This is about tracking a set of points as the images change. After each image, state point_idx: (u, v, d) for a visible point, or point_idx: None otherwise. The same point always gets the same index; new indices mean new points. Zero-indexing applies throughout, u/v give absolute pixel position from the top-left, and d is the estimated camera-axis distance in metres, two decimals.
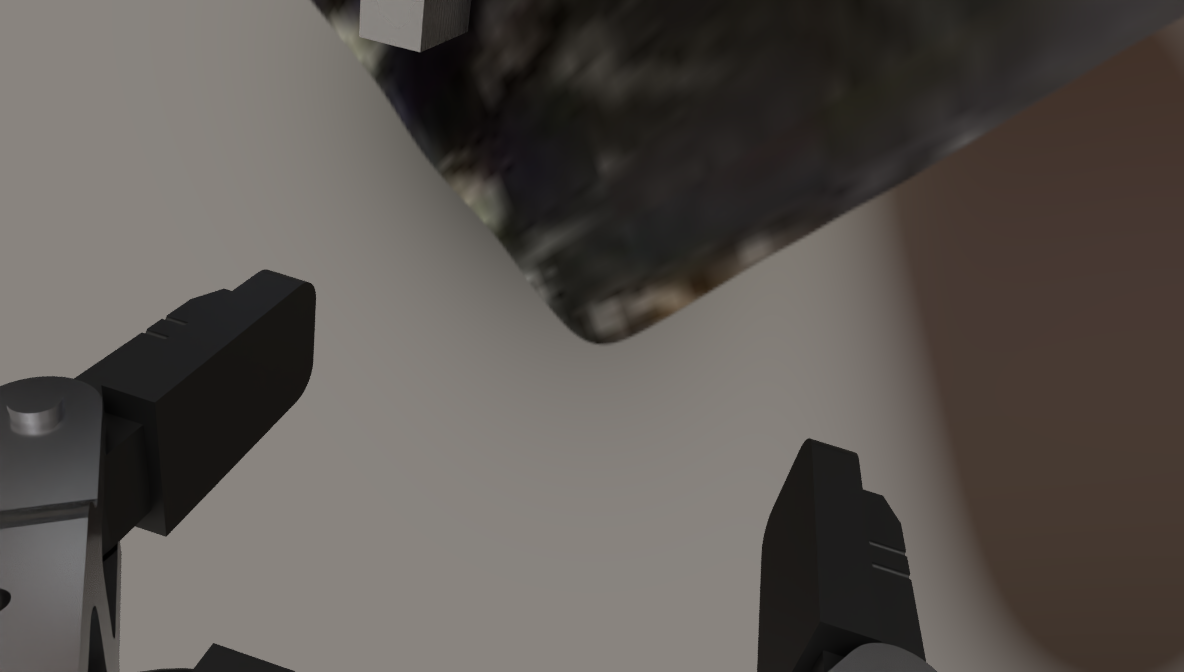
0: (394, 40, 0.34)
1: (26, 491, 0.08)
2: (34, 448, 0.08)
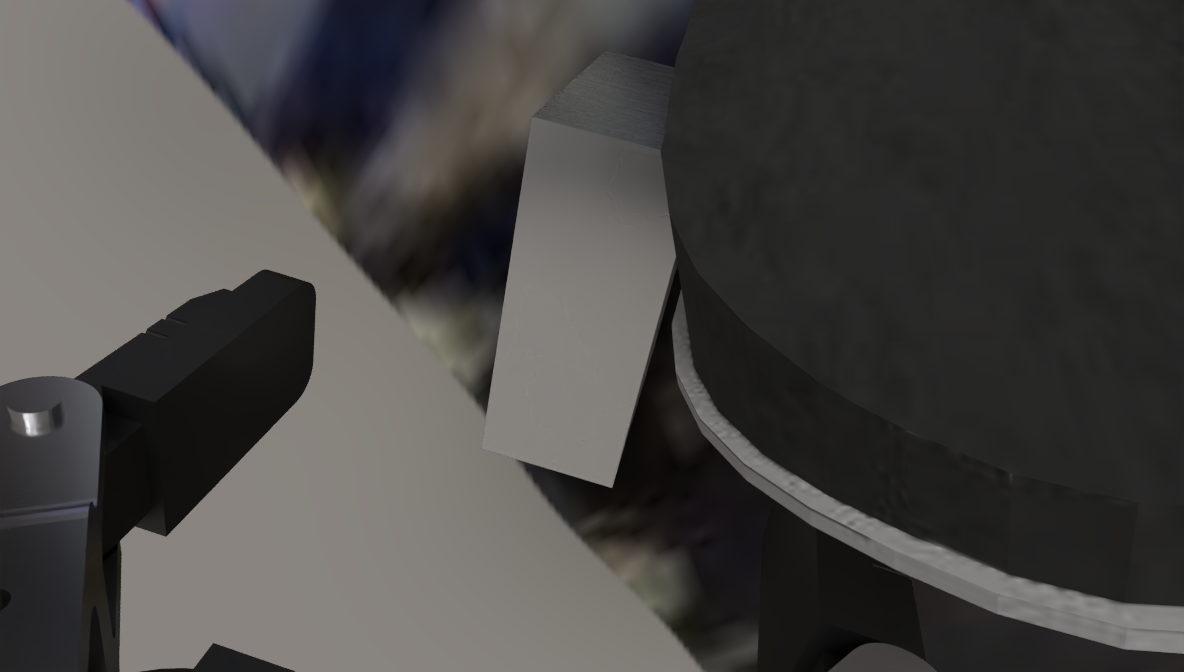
0: (557, 463, 0.16)
1: (26, 491, 0.08)
2: (33, 447, 0.08)
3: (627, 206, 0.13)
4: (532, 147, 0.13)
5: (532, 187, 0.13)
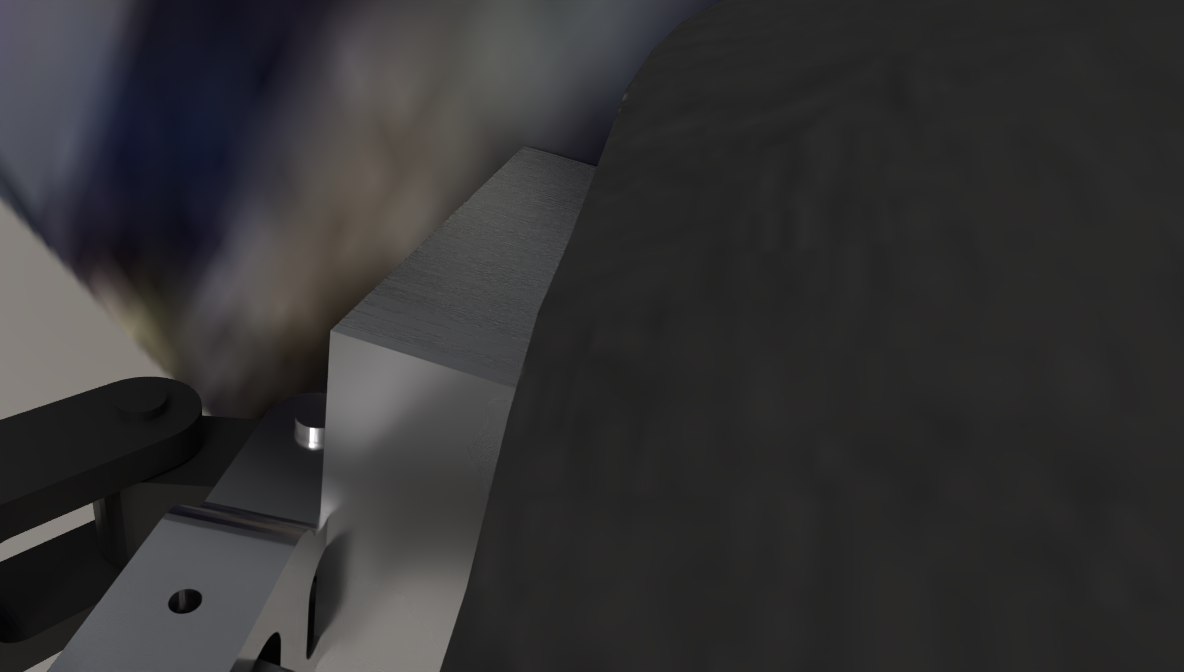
0: None
1: (273, 499, 0.08)
2: (298, 459, 0.09)
3: None
4: (336, 377, 0.07)
5: (342, 438, 0.08)
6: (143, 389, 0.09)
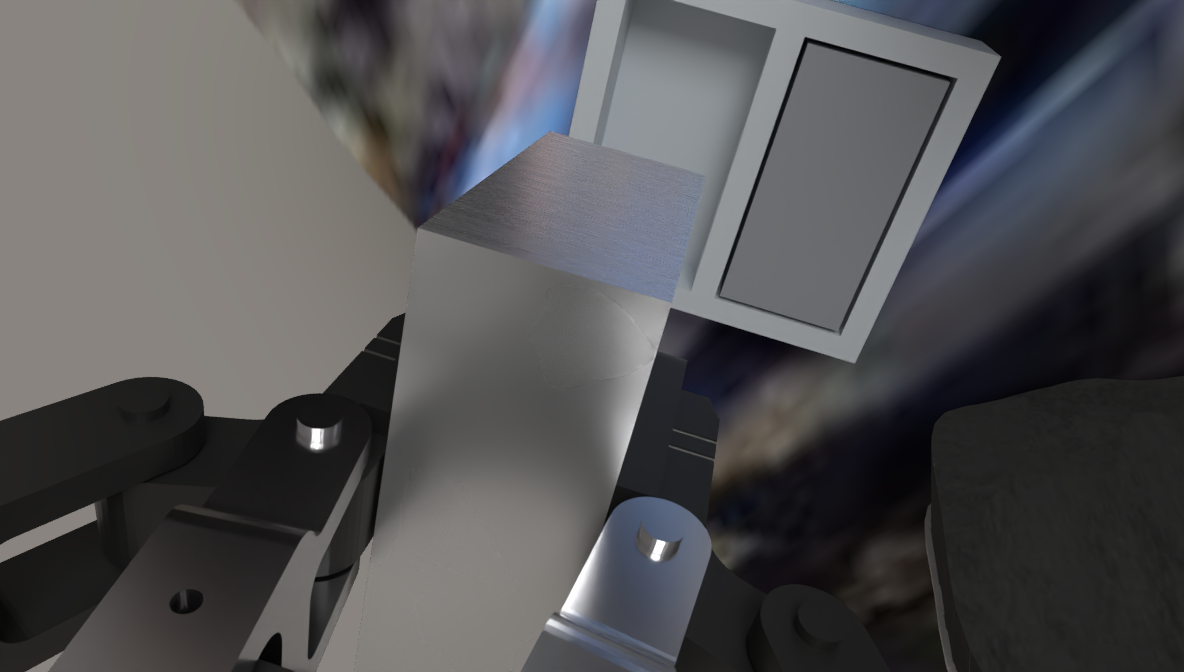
0: None
1: (275, 499, 0.08)
2: (299, 459, 0.09)
3: (561, 362, 0.09)
4: (419, 272, 0.09)
5: (419, 330, 0.09)
6: (144, 389, 0.09)
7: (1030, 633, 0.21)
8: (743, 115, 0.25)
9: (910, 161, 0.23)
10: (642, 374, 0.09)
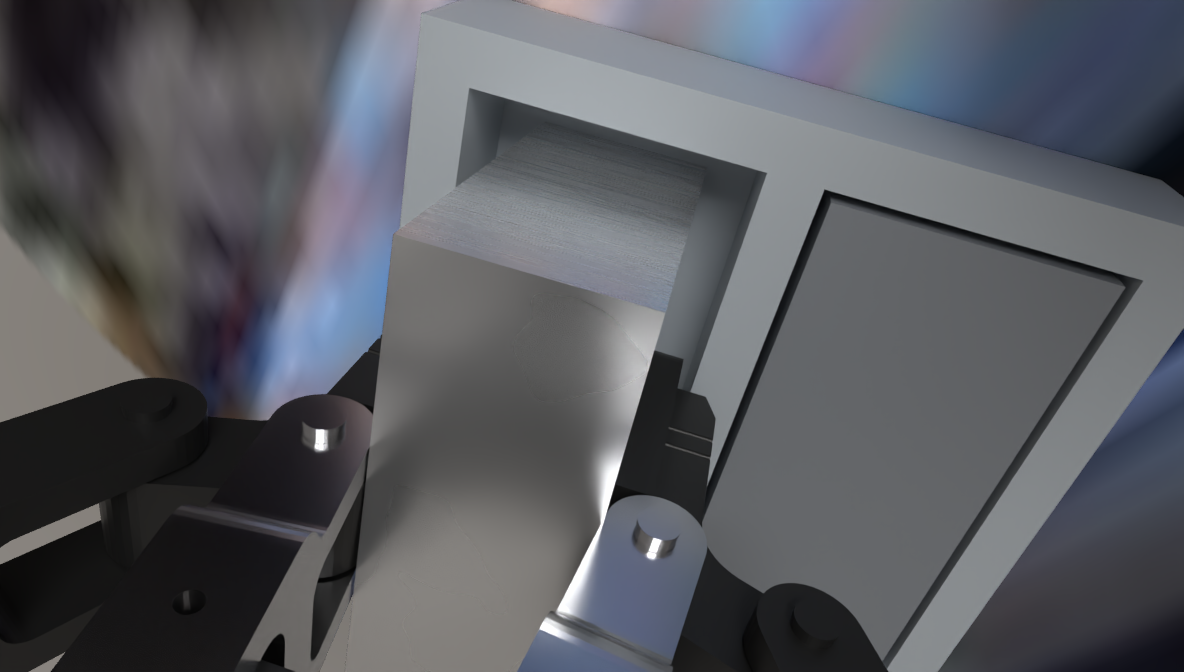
0: None
1: (279, 500, 0.08)
2: (304, 461, 0.09)
3: (548, 375, 0.08)
4: (396, 280, 0.08)
5: (399, 340, 0.08)
6: (148, 390, 0.09)
7: None
8: (708, 296, 0.14)
9: (1030, 421, 0.12)
10: (635, 388, 0.08)
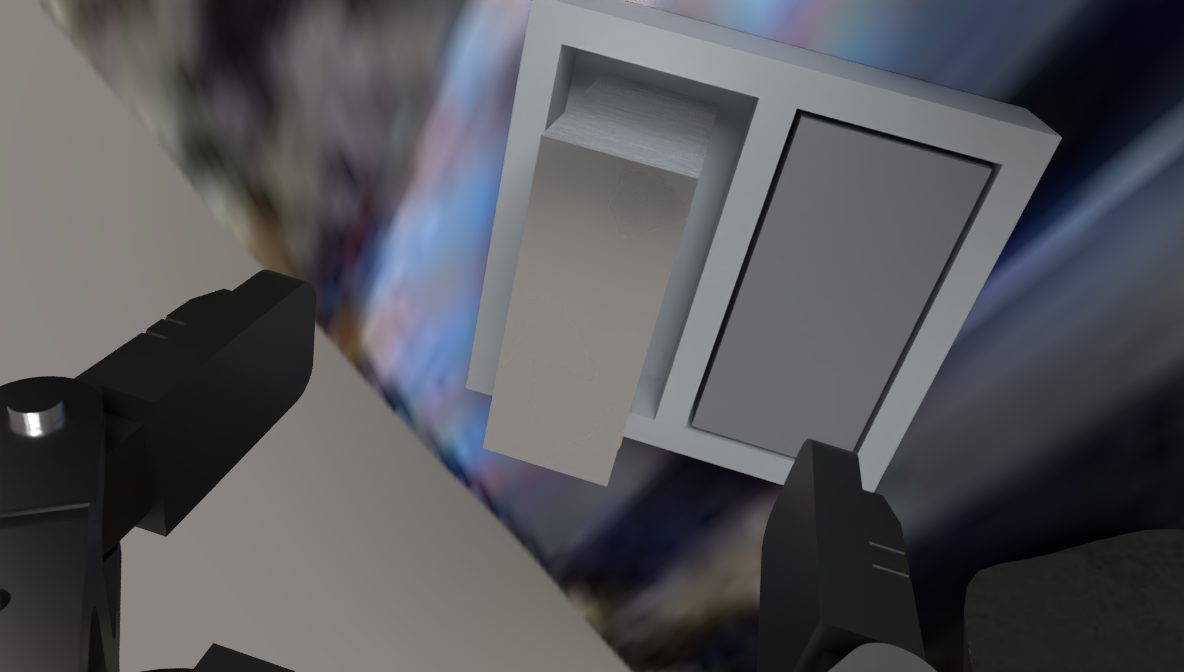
0: (555, 462, 0.17)
1: (26, 491, 0.08)
2: (33, 447, 0.08)
3: (628, 220, 0.14)
4: (540, 163, 0.14)
5: (538, 201, 0.14)
6: None
7: None
8: (717, 200, 0.20)
9: (937, 268, 0.17)
10: (679, 226, 0.14)
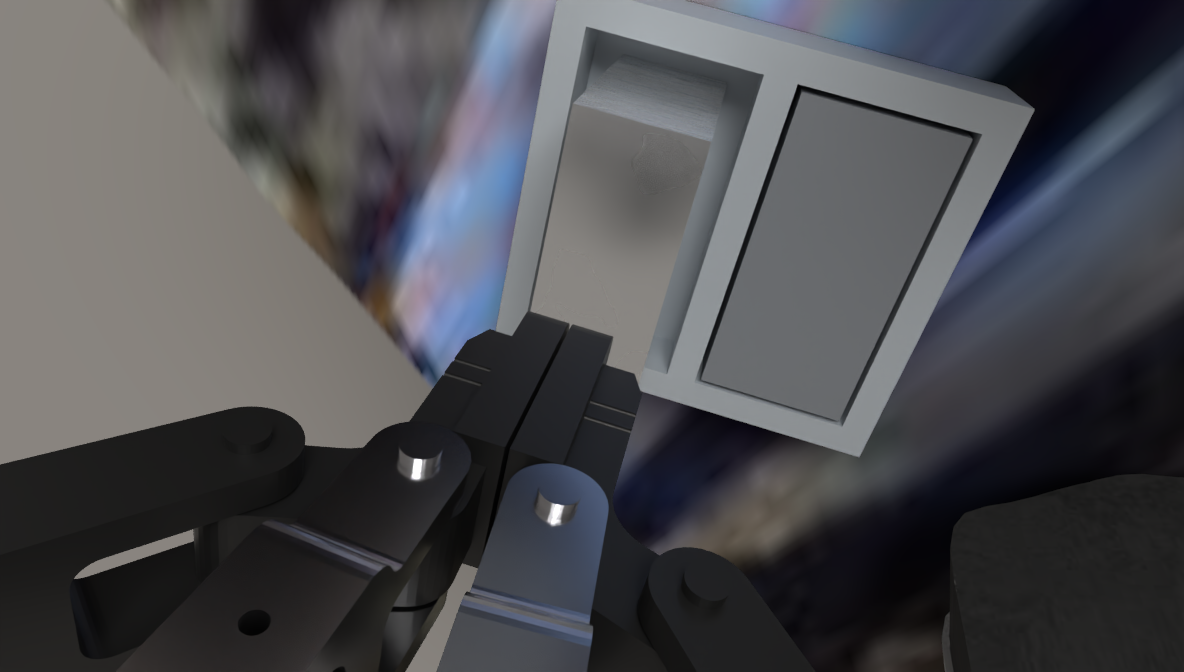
0: None
1: (363, 526, 0.08)
2: (395, 488, 0.09)
3: (649, 179, 0.16)
4: (571, 128, 0.16)
5: (569, 163, 0.16)
6: (251, 420, 0.09)
7: None
8: (725, 171, 0.22)
9: (924, 230, 0.19)
10: (694, 184, 0.16)
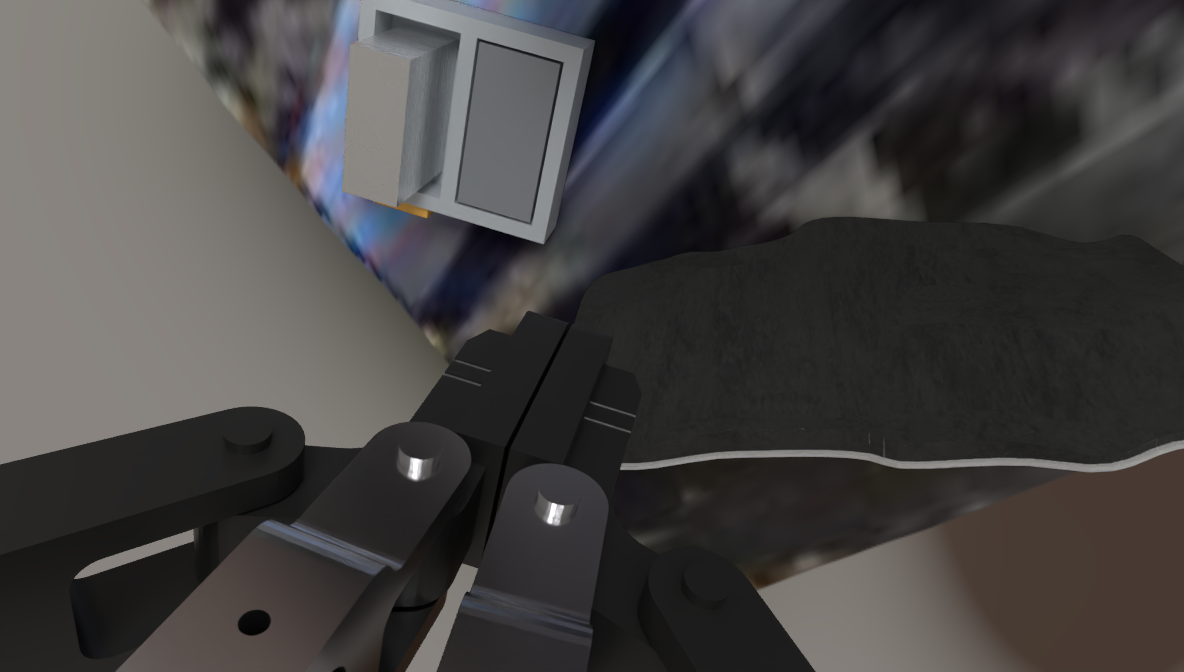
0: (373, 196, 0.38)
1: (363, 526, 0.08)
2: (394, 488, 0.09)
3: (387, 78, 0.35)
4: (351, 55, 0.35)
5: (352, 71, 0.35)
6: (251, 420, 0.09)
7: None
8: None
9: (548, 112, 0.38)
10: (406, 80, 0.35)
